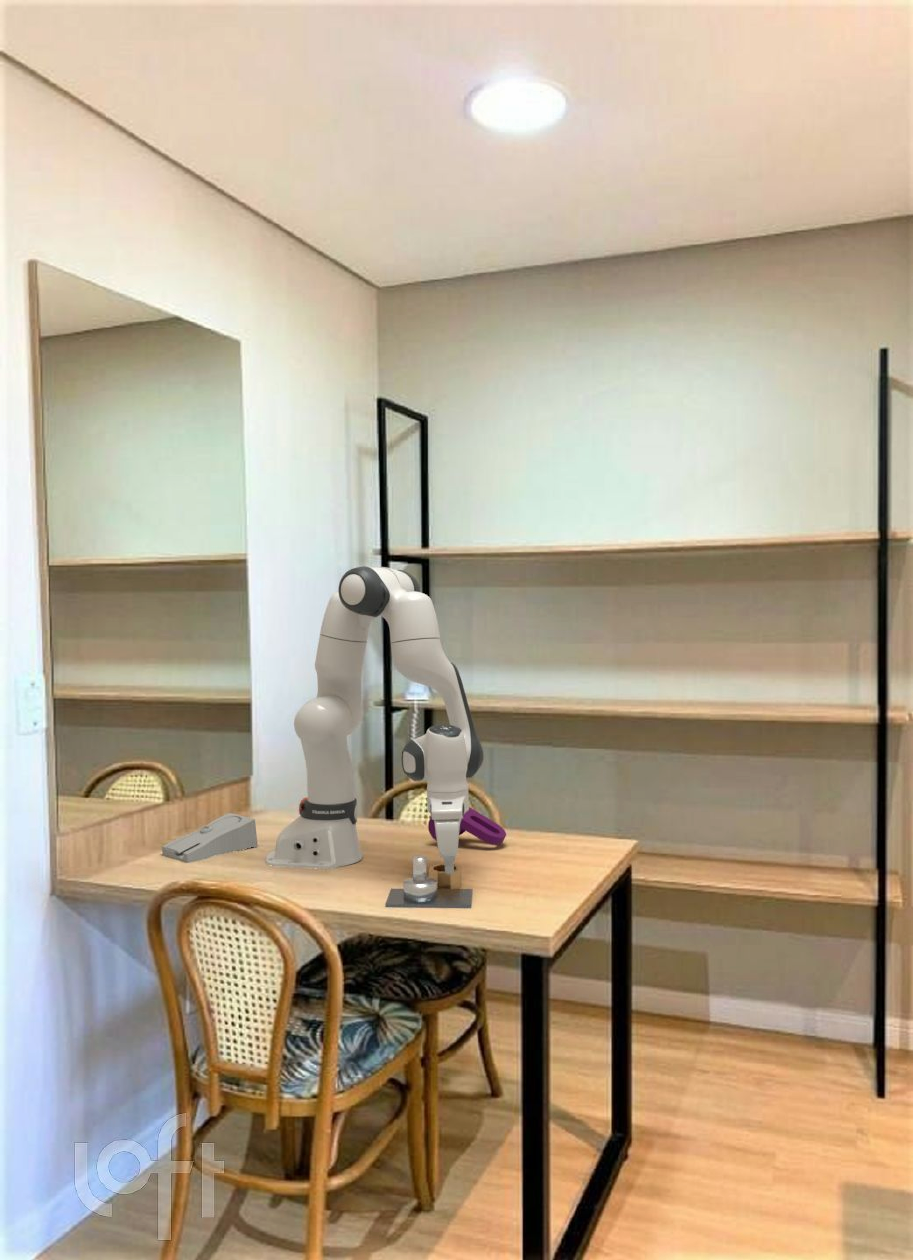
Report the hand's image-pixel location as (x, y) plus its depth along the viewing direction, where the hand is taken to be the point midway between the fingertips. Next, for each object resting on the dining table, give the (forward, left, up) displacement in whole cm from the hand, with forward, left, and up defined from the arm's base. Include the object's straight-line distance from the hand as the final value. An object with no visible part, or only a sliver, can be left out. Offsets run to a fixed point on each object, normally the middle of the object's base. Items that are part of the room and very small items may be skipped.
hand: (450, 866), depth 208 cm
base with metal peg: (-4, -10, -4) cm, 11 cm away
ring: (-1, 0, -4) cm, 4 cm away
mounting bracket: (+10, +34, -6) cm, 36 cm away
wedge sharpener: (-60, +28, -5) cm, 67 cm away
